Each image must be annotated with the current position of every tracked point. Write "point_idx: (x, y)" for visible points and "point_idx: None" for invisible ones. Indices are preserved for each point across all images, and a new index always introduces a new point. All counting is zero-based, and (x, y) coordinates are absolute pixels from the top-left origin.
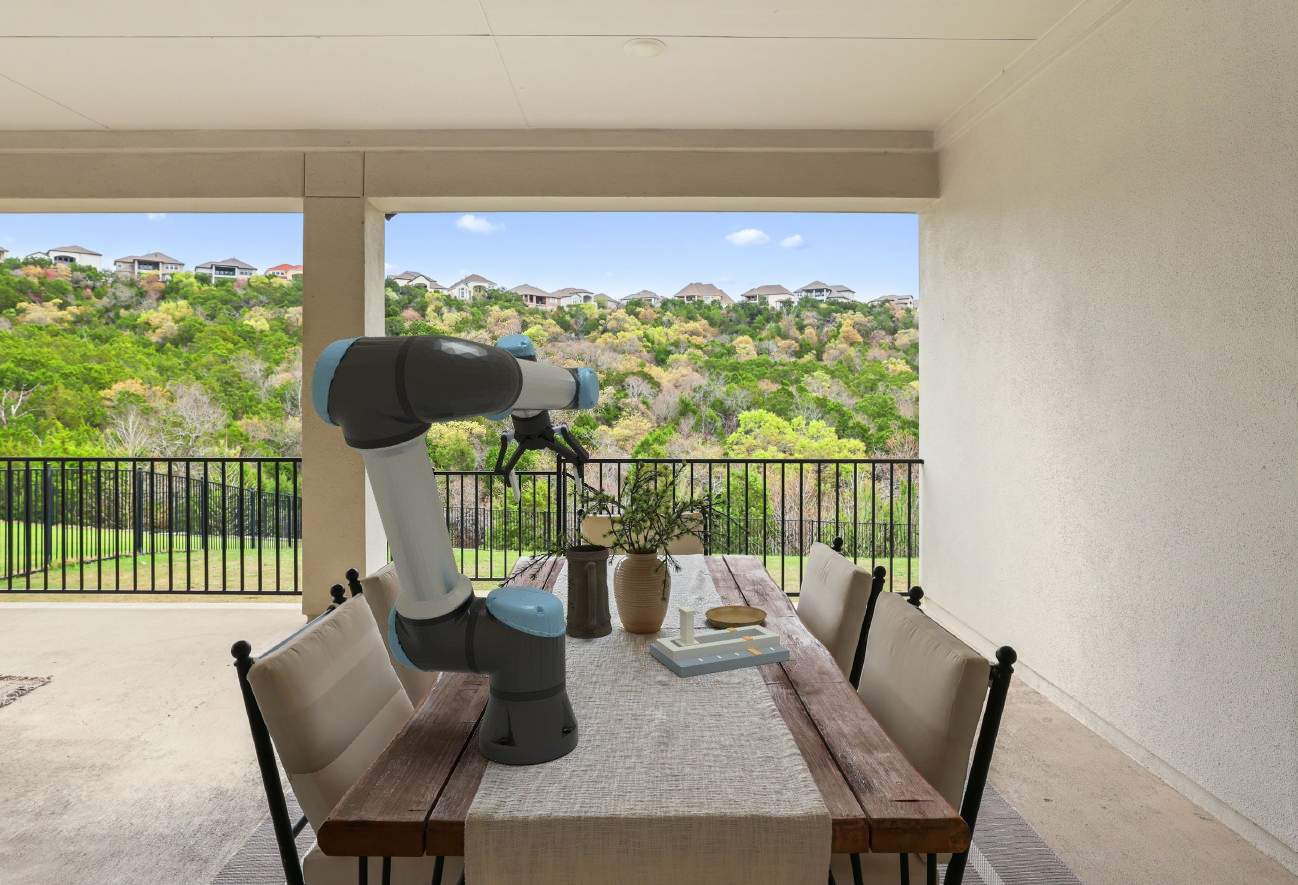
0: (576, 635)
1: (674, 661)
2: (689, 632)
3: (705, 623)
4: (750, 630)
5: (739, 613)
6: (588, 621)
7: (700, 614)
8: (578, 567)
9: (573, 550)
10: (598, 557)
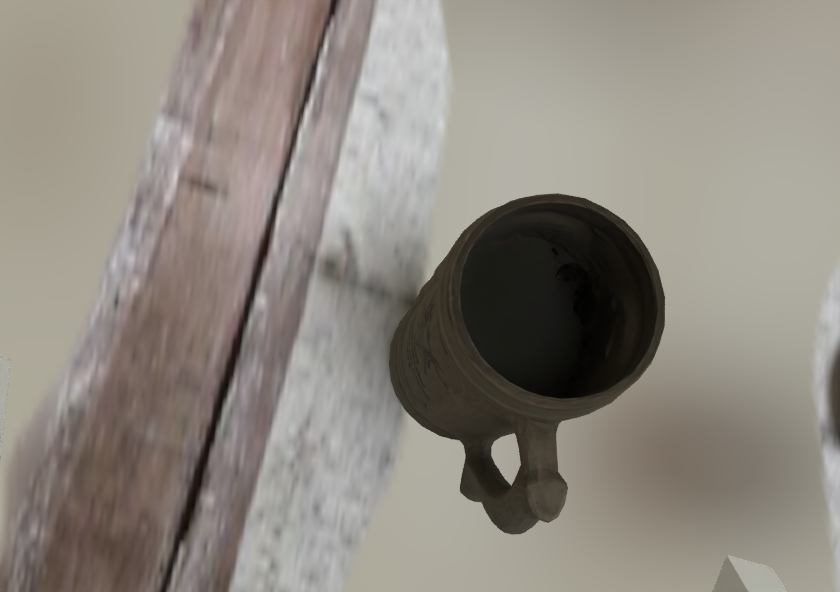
0: (417, 421)
1: None
2: None
3: (829, 388)
4: None
5: None
6: (463, 472)
7: (829, 286)
8: (481, 400)
9: (488, 226)
10: (595, 408)
